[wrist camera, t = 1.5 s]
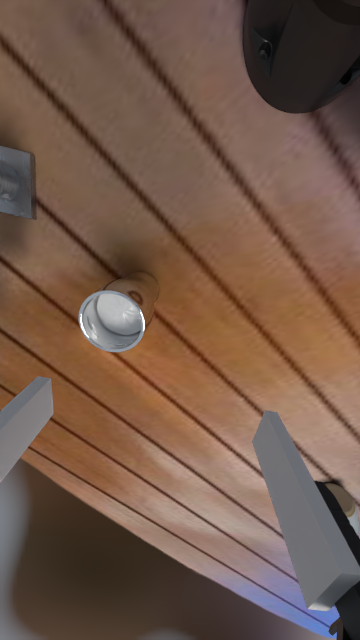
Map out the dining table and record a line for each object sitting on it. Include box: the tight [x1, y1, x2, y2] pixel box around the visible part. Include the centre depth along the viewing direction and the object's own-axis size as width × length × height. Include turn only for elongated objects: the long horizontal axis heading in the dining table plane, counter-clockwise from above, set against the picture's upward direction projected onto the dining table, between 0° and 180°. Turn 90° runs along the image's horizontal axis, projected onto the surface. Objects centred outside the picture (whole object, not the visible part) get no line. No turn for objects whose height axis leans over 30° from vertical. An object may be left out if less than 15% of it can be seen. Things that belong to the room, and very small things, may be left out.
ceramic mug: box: [325, 483, 359, 535], centre depth 48 cm, size 11×8×8 cm
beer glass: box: [79, 272, 159, 352], centre depth 27 cm, size 7×7×15 cm
